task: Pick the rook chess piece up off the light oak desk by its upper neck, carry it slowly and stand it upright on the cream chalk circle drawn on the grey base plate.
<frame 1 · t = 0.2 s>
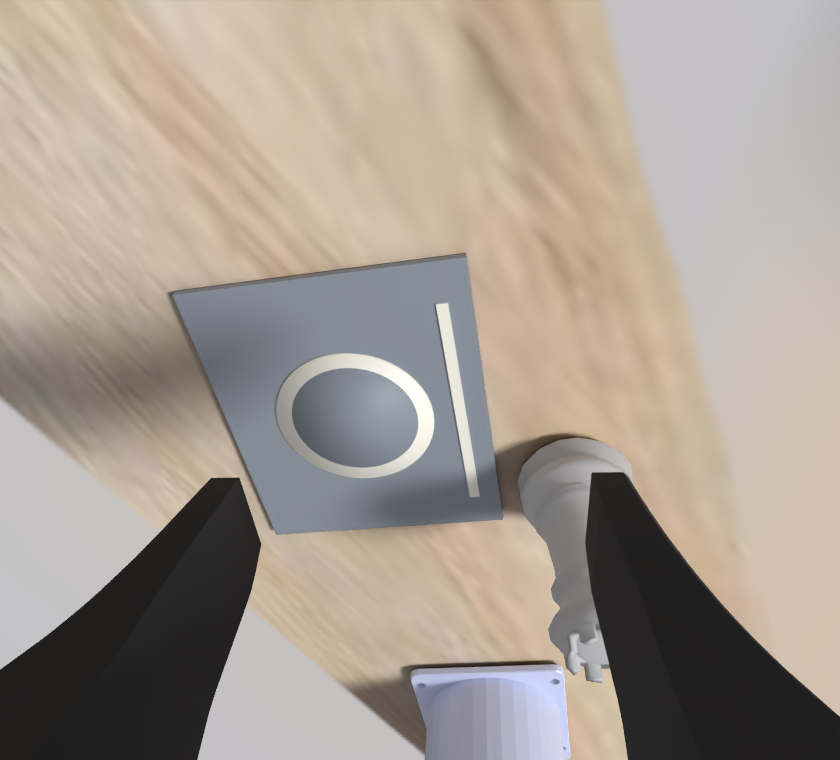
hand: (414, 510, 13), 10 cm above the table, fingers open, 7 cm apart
grey base plate: (356, 414, 25), on the table
rook chess piece: (572, 470, 26), on the table
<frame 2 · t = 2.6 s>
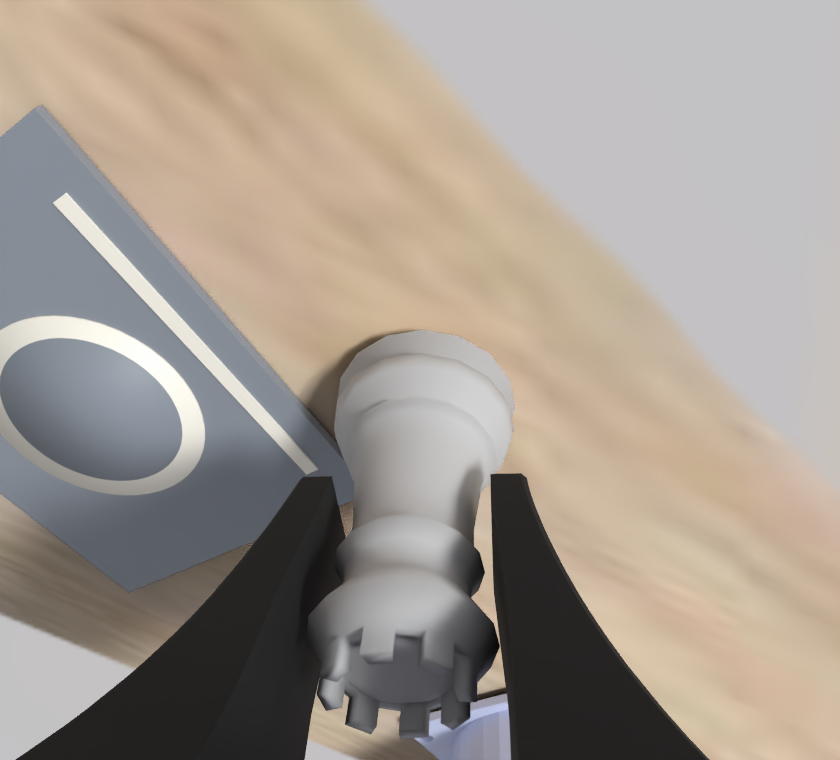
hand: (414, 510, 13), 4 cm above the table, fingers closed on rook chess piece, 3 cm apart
grey base plate: (99, 406, 18), on the table
rook chess piece: (426, 390, 17), on the table, touching gripper
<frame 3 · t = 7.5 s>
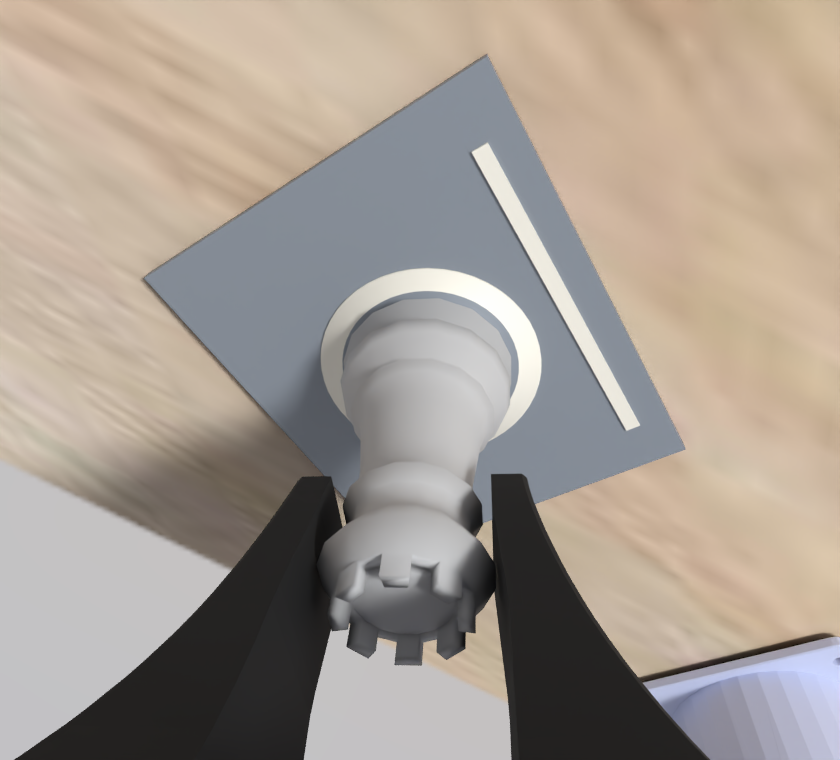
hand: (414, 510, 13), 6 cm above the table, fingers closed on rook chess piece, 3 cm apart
grey base plate: (430, 362, 18), on the table
rook chess piece: (428, 358, 18), resting on grey base plate, touching gripper
when the fingers open (5 cm above the table, at t = 8.3 s): rook chess piece stays where it is, resting on grey base plate.
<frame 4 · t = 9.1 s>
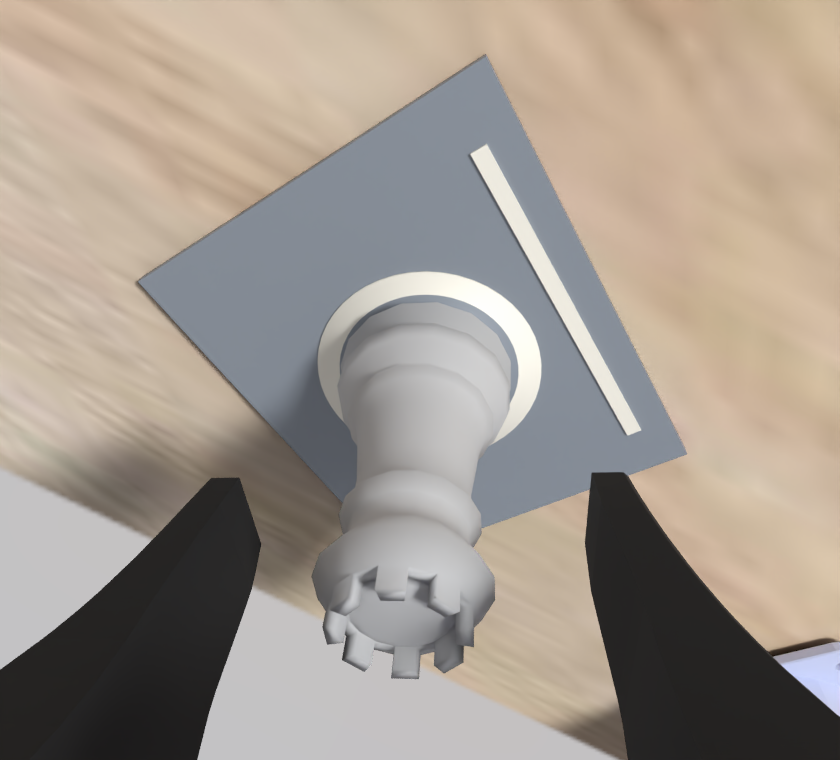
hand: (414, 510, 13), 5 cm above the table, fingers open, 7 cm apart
grey base plate: (429, 366, 18), on the table
rook chess piece: (427, 362, 17), resting on grey base plate
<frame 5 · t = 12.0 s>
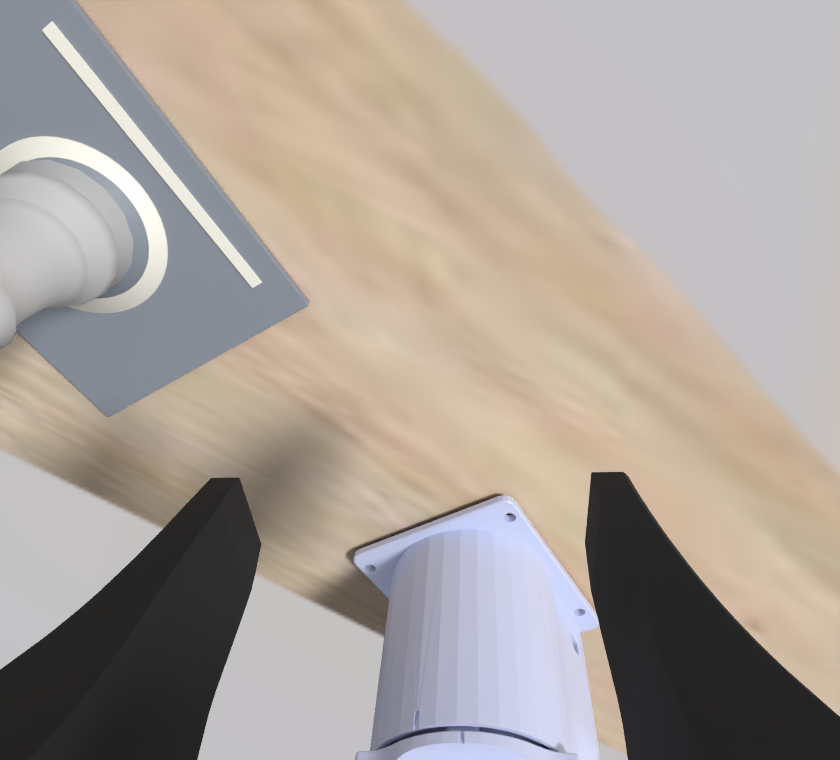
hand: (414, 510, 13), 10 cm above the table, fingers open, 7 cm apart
grey base plate: (80, 227, 21), on the table
rook chess piece: (74, 222, 21), resting on grey base plate
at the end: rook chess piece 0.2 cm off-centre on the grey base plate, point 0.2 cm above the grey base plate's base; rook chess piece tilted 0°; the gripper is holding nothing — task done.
